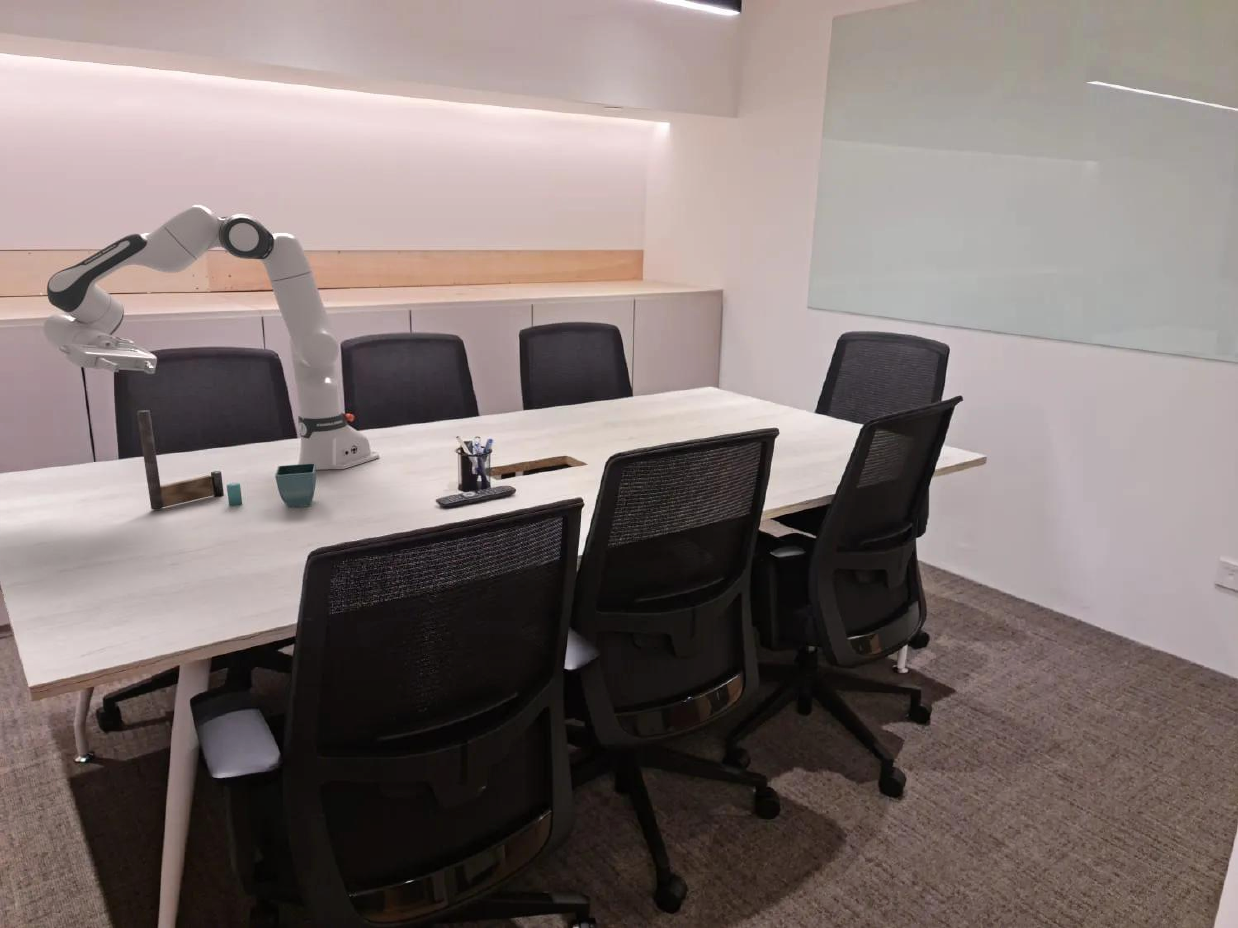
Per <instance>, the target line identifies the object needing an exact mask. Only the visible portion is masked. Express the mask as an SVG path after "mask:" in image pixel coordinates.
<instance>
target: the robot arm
mask: <svg viewBox="0 0 1238 928" xmlns="http://www.w3.org/2000/svg"><path fill="white" fill-rule="evenodd" d="M215 248H223V249H225V250H226V251H227V253H229V254H230V255H231V256H233V257H236V258H238V259H246V260H260V261H261V262H262V264H263V266H264V268H265V270H266V273H267V277H268V280H269V282H270V284H271V287H272V291H273V294H274V296H275V299H276V303H277V305H278V309H279V311H280V313H281V316H282V318H283V321H284V322H285V326H286V328H287V331H288V333H289V336H290V340H289V344H290V345H289V346H290V347H289V348H290V353H291V359H292V361H291V362H292V367H293V373H294V379H295V385H296V393H297V403H298V413H299V415H298V416H297V420H298V432H299V436H300V448H299V449H300V450H299V451H300V453H299V459H298V463H297V465H299V464H311V463H315V464H316V471H318V470H320V471H321V470H345V469H347V468H351V467H354V466H357V465H360V464H363V463H367V462H369V461H373V460H377V459H379V458H380V455H379V454H380V453H379V452H377V451H375V450H373V449H371V446H370V441H369V439H368V437H367V436H366V435H365V434H363V433H361V432H360V431H358V430H357V429H355V428H353V427H352V426H350V425H349V423H348V422H353V421H354V420H355V416H354V414H351V413H346V414H345V413H343V412H342V409H341V397H340V387H339V382H338V378H337V373H336V372H337V371H336V367H335V366H336V365H335V362H336V360H337V359H338V357H339V352H340V347H339V342H338V339H337V337H336V334H335V331H334V329H333V325H332V322H331V320H330V318H329V315H328V313H327V311H326V308H325V306H324V305H325V304H324V303H323V300H322V298H321V295H320V292H319V288H318V286H317V282H316V280H315V276H314V273H313V270H312V267H311V265H310V262H309V260H308V257H307V254H306V252H305V250H304V248H303V246H302V245H301V242H300V241H299V239H298V238H297V237H296V236H295V235H293V234H291V233H287V232H278V233H271V232H270V230H268V229H267V228H266V227H265V226H264V225H263V224H262V223H261V222H260V221H259V220H258V219H257V218H255V217H254V216H252V215H250V214H249V215H248V214H246V213H237V214H235V213H234V214H232V215H229V216H224V217H222V216H221V217H219V216H217V214H216V213H215V212H213V210H211V209H209V208H208V207H206V206H204V205H200V204H195V205H191V206H188V208H185V209H183V210H182V211H180V212H178V213H177V214H175V215H174V216H172V217H171V218H169V219H168V220H166V221H165V222H164V223H163V224H162V225H160V226H159V227H157V228H155V229H154V230H151V231H148V232H146V233H145V232H144V233H141V234H139V233H131V234H128V235H126V236H124V237H122V238H120V239H118V240H116V241H115V242H112V243H111V244H110V245H108V246H106V247H104V248H103V249H101V250H99V251H97V252H95V253H94V254H93V255H90V256H88V257H87V258H85V259H83V260H81V261H80V262H79V263H76V264H74V265H73V266H69V267H67V268H64V269H61V270H59V271H57V272H55V274H53V275H52V276H51V277H50V278H49V280H48V282H47V285H46V286H47V287H46V293H47V300H48V301H49V303H50V305H52V306H54V307H56V308H57V309H58V310H60V311H62V312H61V313H55V314H52V315H50V316H49V317H47V318H46V320H45V321H44V323H43V328H42V329H43V334H44V337H45V339H46V340H47V341H48V342H49V344H50V345H51V346H52V347H54V348H55V349H57V350H58V351H60V352H61V353H63V354H66V355H65V357H66V359H67V360H68V361H70V362H71V363H72V364H74V365H76V366H77V367H79V368H80V367H81V368H85V369H89V368H90V369H94V370H95V369H96V370H102V369H104V370H107V371H110V372H112V373H119V371H120V370H125V371H143V372H144V373H146V374H149V375H150V374H151V375H152V374H153V375H154V374H155V372H156V367H157V363H158V358H157V356H156V355H155V354H153V353H151V352H150V351H148V350H146V349H144V348H143V347H141V346H138V345H135V342H134V341H132V340H131V339H127V338H124V337H119V336H114V335H113V334H114V333H116V332H117V331H118V329H119V328H120V326H121V325H122V322H123V320H124V315H125V311H124V306H123V304H122V303H121V302H120V301H119V300H118V299H117V298H115V297H114V296H113V295H111V294H110V293H109V292H107V291H106V290H105V289H104V288H101V286H99V285H98V284H97V283H98V282H99V281H102V280H103V279H105V278H107V277H108V276H110V275H112V274H113V273H115V272H116V271H118V270H120V269H122V268H124V267H127V266H132V265H135V266H142V267H147V268H149V269H152V270H155V271H157V272H161V273H162V272H163V273H169V274H172V273H173V274H174V273H180V272H181V271H184V270H186V269H187V268H189V267H190V266H191V265H193V264H194V263H195V262H196V261H198V260H199V259H200V258H201V257H202V256H203V255H204V254H205V253H206V252H208V251H210V250H212V249H215ZM347 421H348V422H347Z"/></svg>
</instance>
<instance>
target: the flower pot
mask: <svg viewBox="0 0 1238 928" xmlns="http://www.w3.org/2000/svg"><path fill="white" fill-rule="evenodd" d="M274 476H275V480H276V481H275V482H276V485H277V489H278V493H279V496H280V498H281V501H283V503H284V504H285V505H286V507H287V508H298V507H309V506H311V504H312V502H313V499H314V497H315V491H316V484H317V483H316V482H317V470H316V464H315V463H311V464H299V465H298V464H290V465H288V464H287V465H286V464H285V465H279V466H277V469H276V472H275V474H274Z"/></svg>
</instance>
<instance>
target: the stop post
mask: <svg viewBox="0 0 1238 928" xmlns="http://www.w3.org/2000/svg"><path fill="white" fill-rule="evenodd" d="M226 490H227V500H228V505H229V507H238V506H241V505H243V498H242V497H243V496H242V488H241V483H239V482H233V483H228V484H226Z"/></svg>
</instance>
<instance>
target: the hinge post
mask: <svg viewBox="0 0 1238 928" xmlns="http://www.w3.org/2000/svg"><path fill="white" fill-rule="evenodd" d="M210 476H211V477H212V485H213V493H214V496H213V497H215V498H219V497H223V496H224V495H225V493H224V491H225V490H224V486H223V485H224V484H223V476H222V471H220V470H214V471H212V472H210Z"/></svg>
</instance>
